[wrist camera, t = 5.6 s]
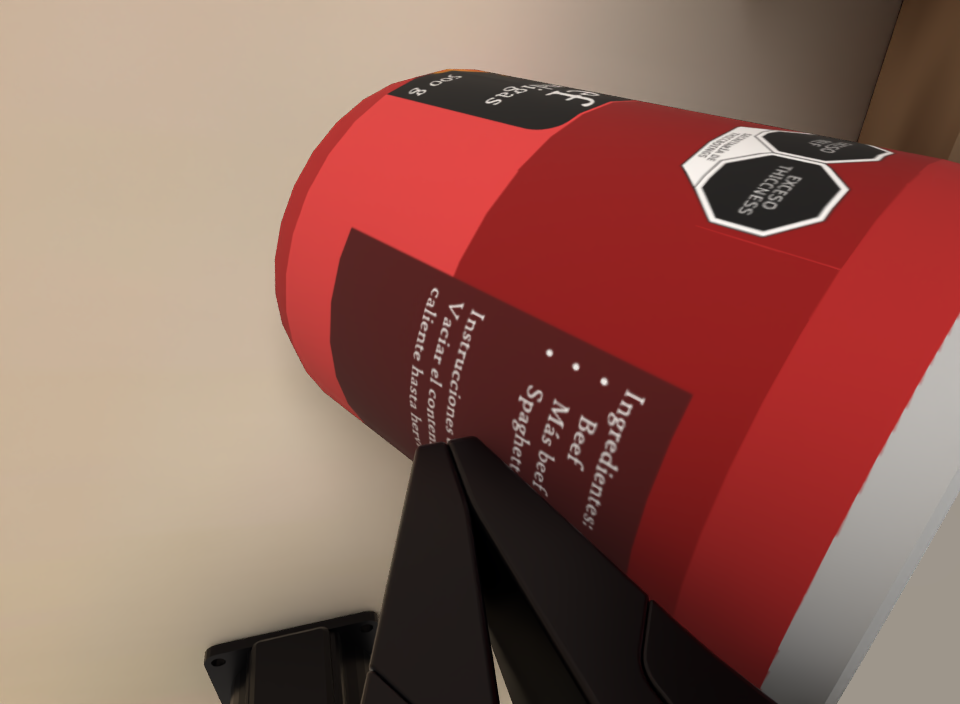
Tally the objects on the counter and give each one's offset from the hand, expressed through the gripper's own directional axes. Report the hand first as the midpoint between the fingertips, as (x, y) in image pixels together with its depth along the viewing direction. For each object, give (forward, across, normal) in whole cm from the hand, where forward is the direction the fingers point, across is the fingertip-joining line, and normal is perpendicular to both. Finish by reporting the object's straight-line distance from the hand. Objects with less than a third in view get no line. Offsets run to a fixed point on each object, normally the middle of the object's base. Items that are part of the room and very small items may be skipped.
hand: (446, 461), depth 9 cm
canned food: (+7, -1, 0) cm, 7 cm away
